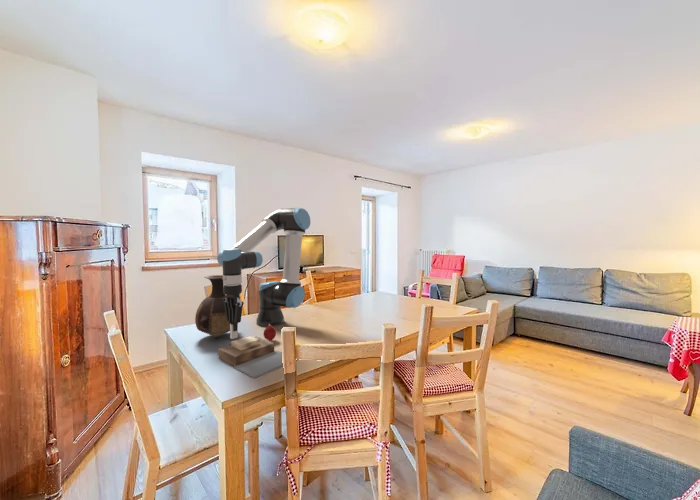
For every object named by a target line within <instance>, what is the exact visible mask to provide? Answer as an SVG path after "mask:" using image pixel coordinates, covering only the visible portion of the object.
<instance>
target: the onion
mask: <svg viewBox="0 0 700 500" xmlns="http://www.w3.org/2000/svg"><path fill="white" fill-rule="evenodd" d="M276 336H277V330H276V328H275V327H274V326H271V325H270V324H269V326H266V327H265V329H264V330H263V337H264V339H265V340H267V341H270V342H272V341H273V340H274V339H275V338H276Z"/></svg>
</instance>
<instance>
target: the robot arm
mask: <svg viewBox="0 0 700 500" xmlns="http://www.w3.org/2000/svg"><path fill="white" fill-rule="evenodd" d="M310 227H311V216H310V213H309V212H308V211H307V210H306V209H305V208H302V207H292V208H280V209H277V210H275V211H273V212H271V213H270V214H269V215H267V216H265V218H262V220H261V223H260V224H259V225H257V226H256V227H255V228H254V229H252V230H251V231H250V232H249V233H248V234H246V235H245V236H244V237H243V238H242V239H240V240H239V241H238V242H236V243H235V244H234V245H233V246H232V247H230V248H225V249H223V250H221V251H220V252H219V253H218V254H217V262H218V265H220V266H222V275H223V284H224V285H223V293H224V294H225V295H226V298H225V299H223V302H224V306H225V313H226V319H227V321H229V323H230V331H229V338H230V339H231V340H233V339H237V338H239V337H238V336H239V335H238V334H239V332H238V330H239V328H238V325H239V323H242V315H243V314H242V313H243V306H244V304H245V303H244V301H241V297H240V294H241V293H242V291H243V288H242V287H243V285H242V282H243V281H242V280H243V279H242V270H247V269H255V268H259V267H261V266H262V264H263V261H264V260H263V255H262V254H261V252H259V251H254V249H256V248H257V246H259V245H260V244H262V242H263V241H264V240H266V239H267V238H269V236H270V235H271V234H275V233H277V232H278V231H281V230H283V232H284V234H285V246H284V247H285V248H284V249H285V250H284V259H283V271H282V279H281V280H280V281H278V280H274V281H267V282H261V283H260V284H259V286H258V302H259V303H258V304H259V307H258V308H259V310H258V312H257V313H258V314H257V317H256V325H258V326H260V327H268V326H269V324H270V325H271V326H272V327H274V326H279V325H282V324H284V322H285V317H284V314H283V311H282V308H281V307H283V308H289V309H292V308H293V309H296V308H298V307H300V306H301V304H302V303H303V302H304V299H305V296H306V292H305V289H304V288H303V286H302V282H301V281H300V279H299V278H300V268H301V267H300V266H301V255H302V254H301V253H302V242H303V241H302V240H303V236H304V235H305V234H306V230H308V229H309V228H310Z"/></svg>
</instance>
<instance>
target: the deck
mask: <svg viewBox="0 0 700 500" xmlns="http://www.w3.org/2000/svg"><path fill="white" fill-rule="evenodd" d="M254 337H255V338H257V339H260V344H258V345H255V346H252V347H249V348H246V349H243V350H238V349H236V348H234V347H231V344H229V345H226V346H221V347H219V348H218V350H217V351H218V359H219V360H221V361H223V362H225V363H228V364H230V365H232V366H233V367H234V366H237V365H240V364H242V363H245V362H248V361H250V360H253V359H256V358H258V357H261V356H264V355H266V354H269V353H272V352H274V351H275V342H273V341H268V340H267V339H265V338H261V337H259V336H254Z"/></svg>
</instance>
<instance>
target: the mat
mask: <svg viewBox="0 0 700 500" xmlns="http://www.w3.org/2000/svg"><path fill="white" fill-rule="evenodd" d="M281 367H284V366H283V363H282V351H280V350H274V352H272V353H269V354H266V355H264V356H261V357H258V358H256V359H253V360H250V361H248V362H245V363H242V364H240V365H237V366H233V368H234V369H235V370H237V371H239V372H241V373H242V374H245V375H246V376H249V377H251V378H252V379H256V378H258V377H261V376H264V375H265V374H267V373H270V372H272V371H274V370H277V369H279V368H281Z"/></svg>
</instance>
